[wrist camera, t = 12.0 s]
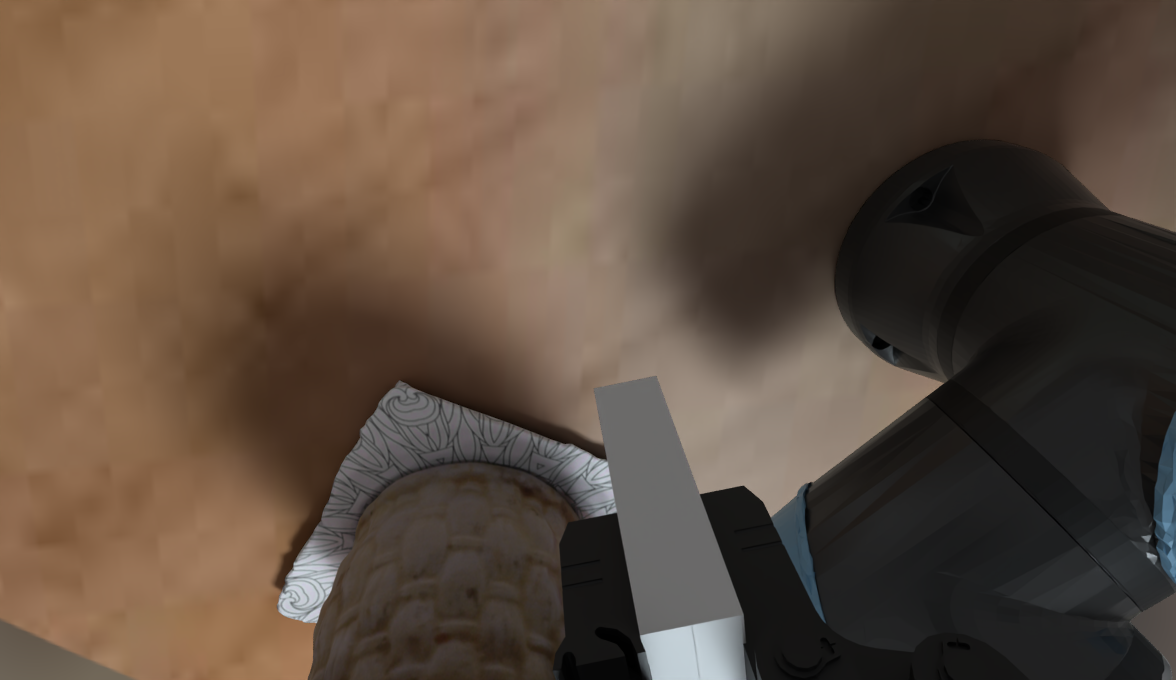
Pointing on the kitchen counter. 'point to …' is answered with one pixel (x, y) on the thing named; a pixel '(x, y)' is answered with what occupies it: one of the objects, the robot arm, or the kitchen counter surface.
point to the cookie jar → (443, 547)
